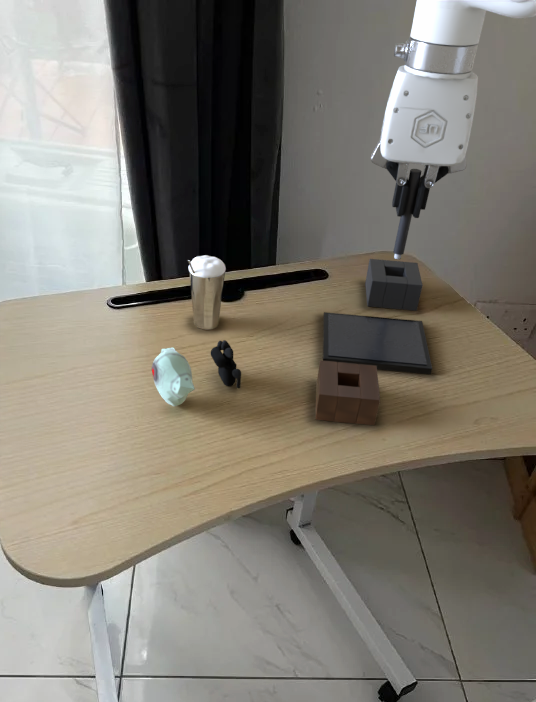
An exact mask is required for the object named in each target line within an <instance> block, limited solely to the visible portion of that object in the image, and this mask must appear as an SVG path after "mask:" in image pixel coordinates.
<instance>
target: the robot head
mask: <svg viewBox="0 0 536 702" xmlns="http://www.w3.org/2000/svg"><path fill="white" fill-rule="evenodd" d="M151 373H152V378H153V382H154V386H155V388H156V390H157V392H158V394H159V395H160V396H161V398H162V399H163V400H164V401H165V403H166V404H168V405H171V406H172V407H178V406H180V405H182V404H183V403H184V402H185V401H186V400H187V398H188V395H189V394H190V393H192V392H194V391H195V390H196V388H195V385H194V383H193V373H192V367H191V365H190V364H189V361H188V360H187V358H186V357H185V356H184V355H183V354H181V353H180V352H178V351H177V350H176V348H174V347H167V348H161V350H160V353H159V354H158V355H157V356H155V358H154V359H153V362H152V364H151Z"/></svg>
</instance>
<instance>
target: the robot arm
mask: <svg viewBox="0 0 536 702" xmlns="http://www.w3.org/2000/svg"><path fill="white" fill-rule="evenodd" d="M487 12H491V13H493V14H496V15H500V16H503V17H507V18H511V19H518V20H519V19H529V18H533V17H536V0H416V3H415V9H414V13H413V20H412V25H411V31H410V35H409V36H408V39H406V41H405V42H402V43H395V46H394V51H393V57H397V58H400V59H402V60H403V62H404V65H401V66H399V67H398V69H397V72H396V75H395V77H394V80H393V83H392V86H391V89H390V92H389V96H388V99H387V103H386V107H385V111H384V116H383V119H382V120H383V121H382V124H381V130H380V135H379V139H378V141H377V142H376V145H375V147H374V149H373V150H372V152H371V154H370V161H371V163H372V164H374V165H376V166H378V167H380V168H382V169H386V170H387V171H388V173H389V174H390V175H391V177H392V178H393V179H394V181H395V185H394V191H393V195H392V196H393V197H392V203H391V207H392V208H395V212H396V217H399V218H400V217H402V216H403V215H404V210H405V205H406V201H407V196H408V191H409V185H408V179H409V177H408V174H409V167H410V164H411V165H422V166H423V165H424V168H423V171H422V174H421V177H420V181H419V185H418V190H417V194H416V199H415V203H414V208H413V212H412V217H413V218H414V219H419V218H420V214H421V210H422V211H424V210H426V207H427V203H428V199H429V194H430V190H431V188H433V187H435V184H436V183H437V182H439V181H440V180H442V179H443V178H444V177H446V176H447V175H449V174H454V173H458V172H462V171H465V170H466V169H467V157H466V154H467V151H468V147H469V143H470V137H471V132H472V128H473V122H474V115H475V110H476V104H477V94H478V84H479V76H478V75H477V74H476V73H475V72H474V71H473V67H474V64H475V60H476V55H477V51H478V48H479V42H480V38H481V35H482V30H483V27H484V22H485V18H486V15H487Z"/></svg>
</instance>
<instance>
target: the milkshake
mask: <svg viewBox="0 0 536 702" xmlns="http://www.w3.org/2000/svg"><path fill="white" fill-rule="evenodd" d="M187 263H188V264H189V265H188V273H189V274H188V276H189V282H190V283H189V284H190V294H191V295H190V296H191V307H192V320H193V324H194V326H195V327H196V328H198V329H200V330H203V331H205V330H207V331H208V330H214V329H215V328H217V327H218V325H219V322H220V315H221V306H222V297H223V291H224V283H225V276H226V270H227V268H226V264H225V263H224V262H223V260H221V259H220V258H218V257H216V256H211V255H208V254H205V255H197V256H196V257H194V258H192V260H189V259H187Z"/></svg>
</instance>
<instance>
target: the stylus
mask: <svg viewBox="0 0 536 702" xmlns="http://www.w3.org/2000/svg"><path fill="white" fill-rule="evenodd" d="M422 173H423V171H422V170H421V169H419V168H411V169H410V170H409V173H408V174H409V175H408V185H409V191H408V196H407V201H406V205H405V210H404V215H403V216H402V217H399V224H398V228H397V232H396V237H395V242H394V247H393V251H392V252H393V254H394V255H393V258H394V260H400V259H401V258H402V255H404V253H405V249H406V245H407V240H408V235H409V231H410V227H411V222H412V217H413V215H412V212H413V208H414V203H415V199H416V194H417V190H418V185H419V181H420V177H421V176H422Z"/></svg>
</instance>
